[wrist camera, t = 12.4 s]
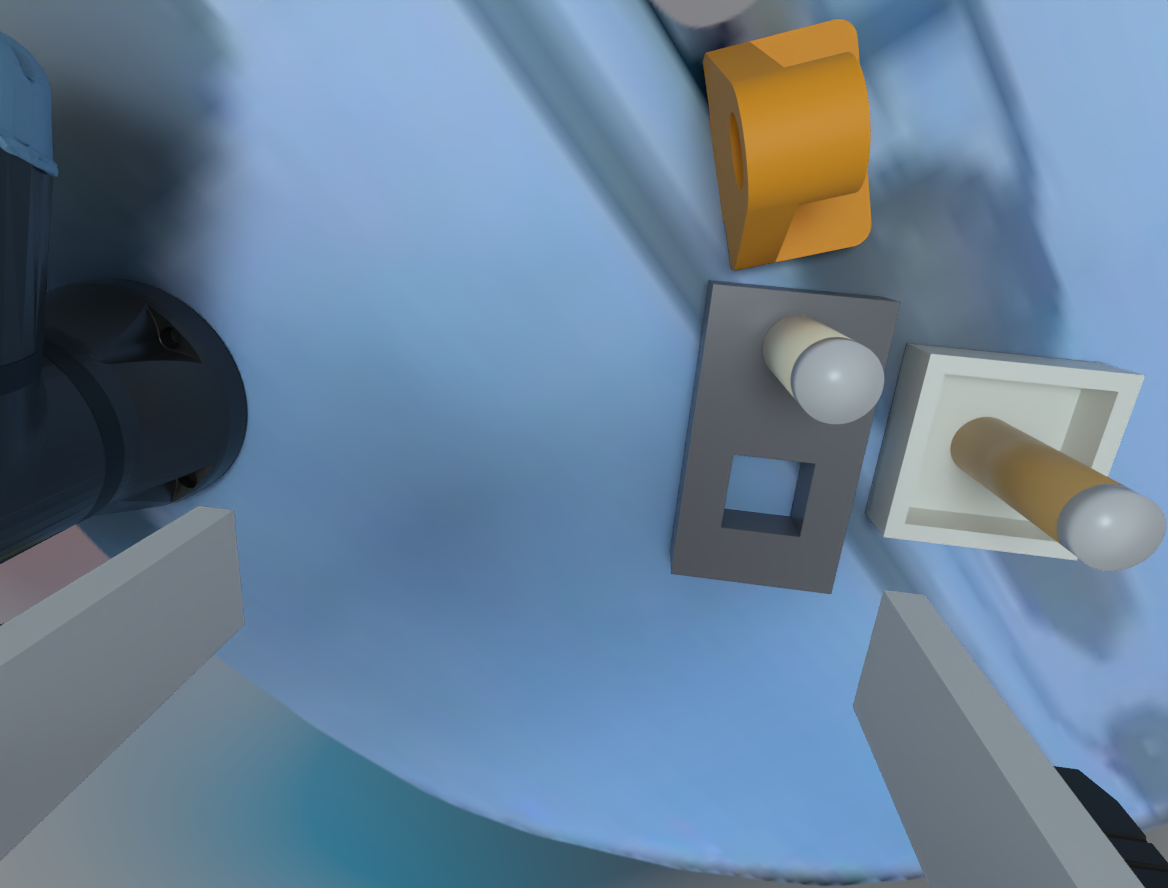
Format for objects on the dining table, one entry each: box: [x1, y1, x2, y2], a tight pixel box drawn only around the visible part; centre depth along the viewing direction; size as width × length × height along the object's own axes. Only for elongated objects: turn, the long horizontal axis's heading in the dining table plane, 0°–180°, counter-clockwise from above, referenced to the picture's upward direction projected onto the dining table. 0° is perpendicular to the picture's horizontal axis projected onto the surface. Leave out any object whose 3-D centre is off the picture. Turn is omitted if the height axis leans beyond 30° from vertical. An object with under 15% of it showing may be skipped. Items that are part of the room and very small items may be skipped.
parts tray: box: [865, 343, 1145, 560], centre depth 38 cm, size 11×11×4 cm
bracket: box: [703, 19, 871, 270], centre depth 30 cm, size 11×7×12 cm, turn 12°
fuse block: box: [670, 280, 901, 594], centre depth 35 cm, size 18×10×12 cm, turn 175°
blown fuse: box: [950, 417, 1166, 571], centre depth 33 cm, size 4×4×12 cm
